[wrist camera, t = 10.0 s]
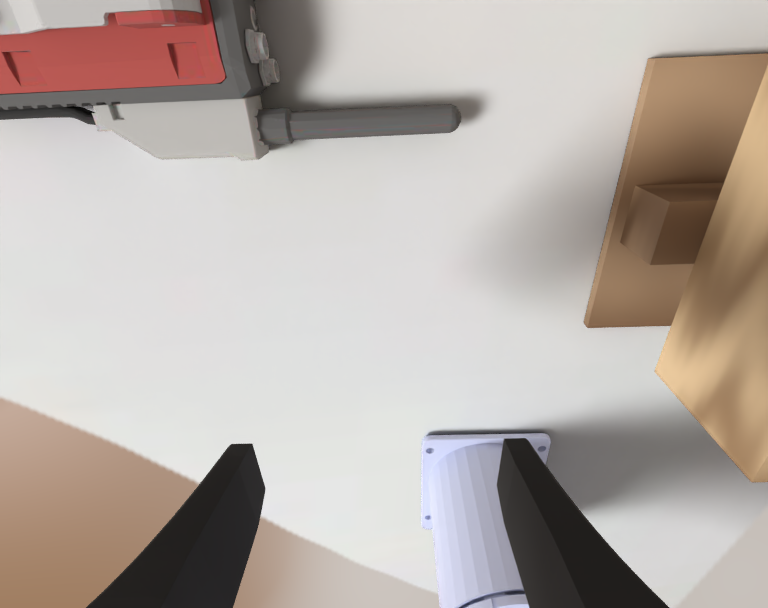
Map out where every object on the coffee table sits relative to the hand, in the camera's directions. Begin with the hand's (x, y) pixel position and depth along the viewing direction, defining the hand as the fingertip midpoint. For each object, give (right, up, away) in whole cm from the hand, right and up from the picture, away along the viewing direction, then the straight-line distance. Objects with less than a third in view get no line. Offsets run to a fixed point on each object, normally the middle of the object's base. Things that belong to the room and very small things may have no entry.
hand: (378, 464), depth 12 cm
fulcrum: (+14, +9, +7) cm, 18 cm away
